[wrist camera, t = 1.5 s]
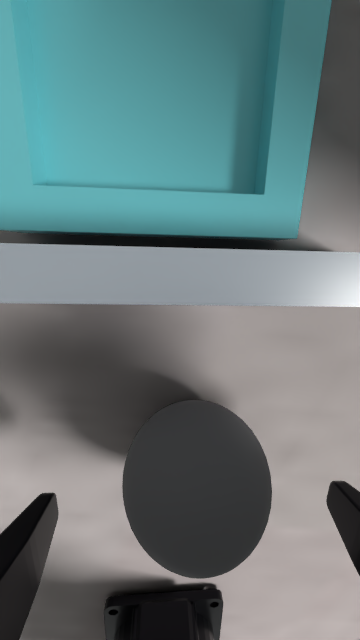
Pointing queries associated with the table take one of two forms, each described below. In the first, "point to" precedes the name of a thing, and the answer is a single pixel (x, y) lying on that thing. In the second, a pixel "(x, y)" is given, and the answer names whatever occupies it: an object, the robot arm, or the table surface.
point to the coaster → (158, 116)
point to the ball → (197, 489)
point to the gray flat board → (177, 276)
